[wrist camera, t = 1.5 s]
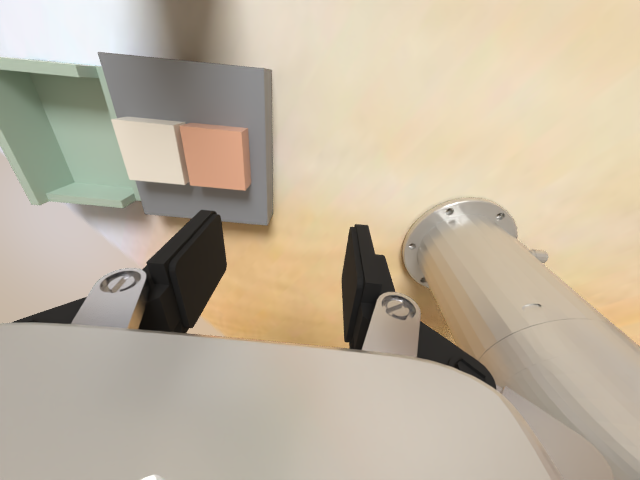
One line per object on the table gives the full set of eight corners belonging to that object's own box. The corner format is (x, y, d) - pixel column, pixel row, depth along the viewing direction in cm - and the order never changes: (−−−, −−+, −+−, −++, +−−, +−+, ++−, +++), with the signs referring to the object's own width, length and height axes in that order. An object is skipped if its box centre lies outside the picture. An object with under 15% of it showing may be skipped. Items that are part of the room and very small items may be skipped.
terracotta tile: (248, 128, 23) (241, 131, 21) (251, 183, 25) (245, 190, 24) (190, 122, 23) (179, 125, 21) (199, 178, 25) (190, 185, 24)
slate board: (271, 69, 23) (263, 68, 20) (273, 213, 30) (267, 225, 28) (123, 55, 23) (97, 51, 20) (160, 202, 30) (144, 214, 28)
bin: (121, 68, 23) (74, 65, 19) (154, 194, 30) (124, 213, 25) (20, 58, 23) (-49, 53, 19) (75, 186, 30) (31, 204, 25)
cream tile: (185, 122, 23) (173, 125, 21) (194, 178, 25) (184, 184, 24) (127, 116, 23) (110, 119, 21) (143, 173, 25) (129, 179, 24)
